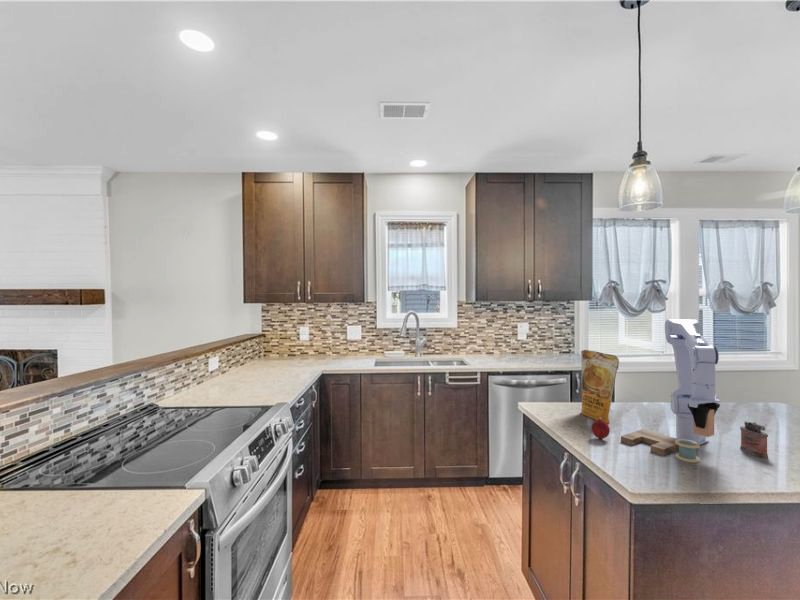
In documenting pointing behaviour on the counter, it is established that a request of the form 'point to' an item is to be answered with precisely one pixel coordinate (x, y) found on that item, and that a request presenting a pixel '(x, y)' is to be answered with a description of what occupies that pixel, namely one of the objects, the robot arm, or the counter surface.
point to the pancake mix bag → (597, 383)
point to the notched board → (652, 441)
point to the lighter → (754, 439)
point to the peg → (706, 426)
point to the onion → (600, 429)
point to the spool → (687, 450)
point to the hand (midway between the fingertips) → (703, 426)
